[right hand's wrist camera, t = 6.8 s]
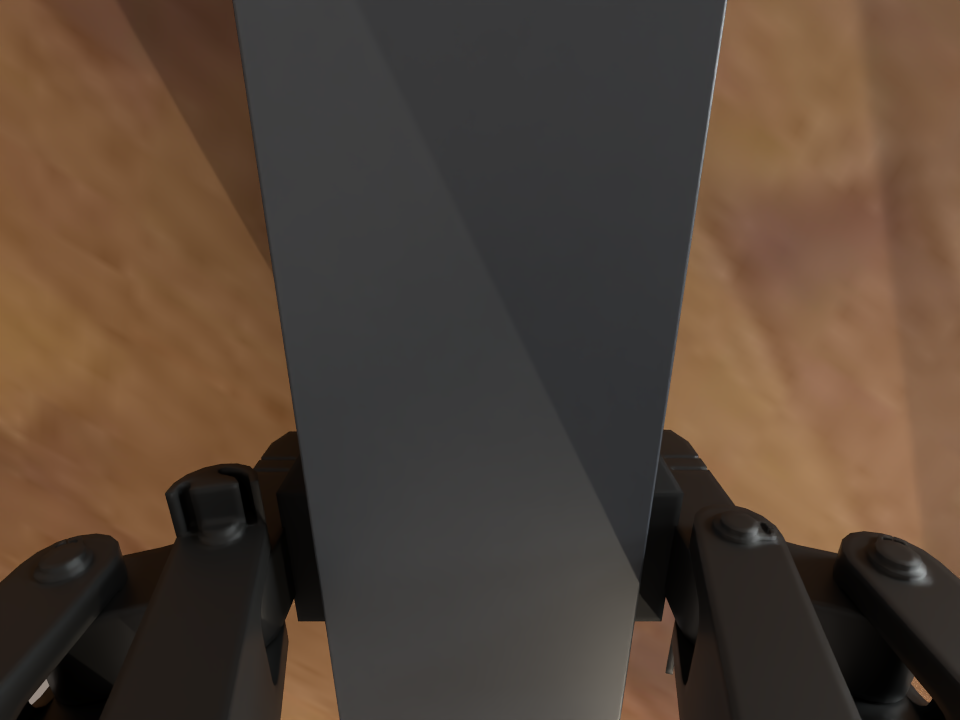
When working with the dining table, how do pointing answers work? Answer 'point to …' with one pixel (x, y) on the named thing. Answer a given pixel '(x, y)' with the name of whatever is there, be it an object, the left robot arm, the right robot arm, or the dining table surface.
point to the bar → (479, 326)
